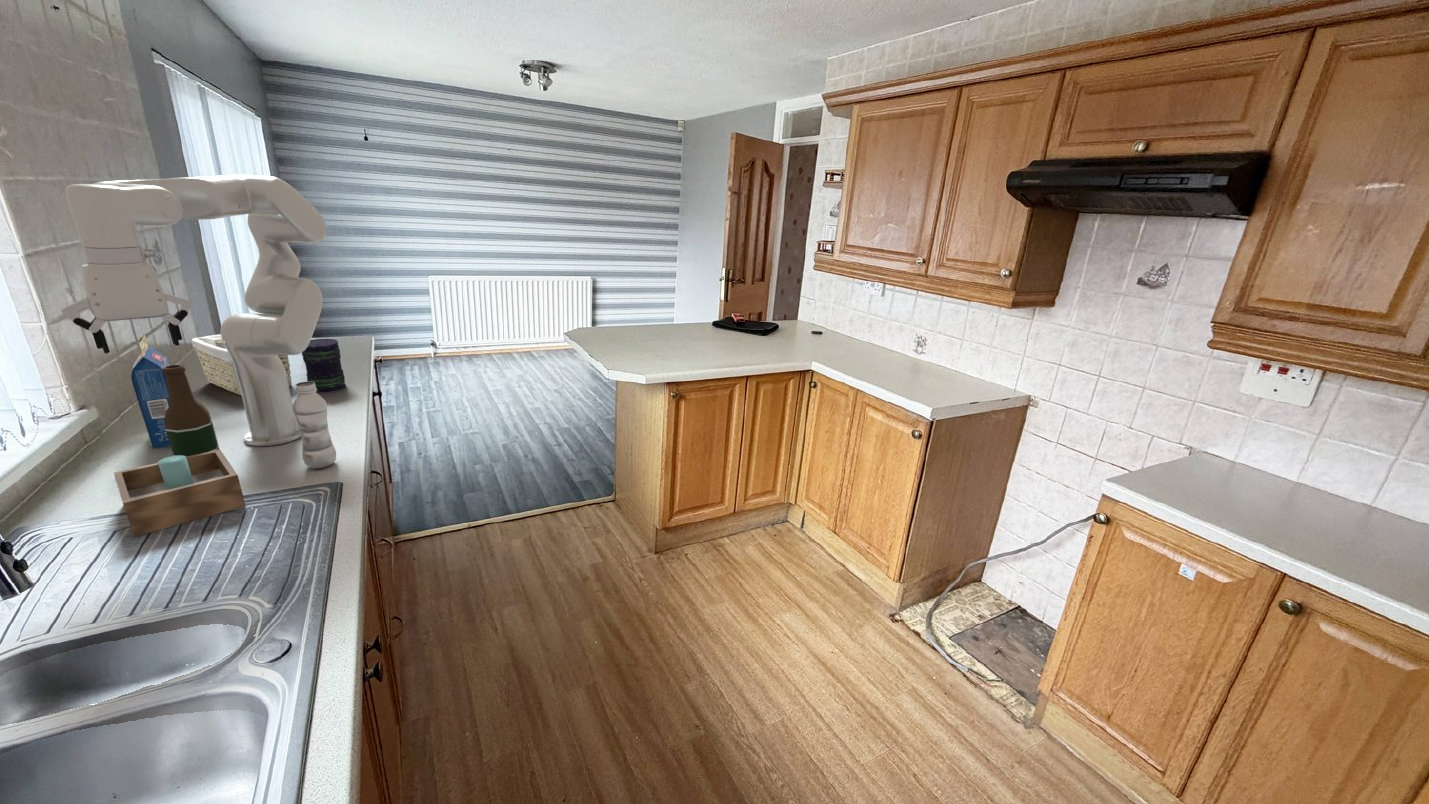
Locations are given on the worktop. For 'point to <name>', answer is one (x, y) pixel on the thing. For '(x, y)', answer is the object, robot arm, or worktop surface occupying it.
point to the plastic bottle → (313, 426)
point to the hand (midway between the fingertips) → (142, 347)
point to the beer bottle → (186, 417)
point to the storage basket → (223, 363)
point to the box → (179, 493)
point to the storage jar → (324, 365)
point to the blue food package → (152, 392)
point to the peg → (175, 471)
